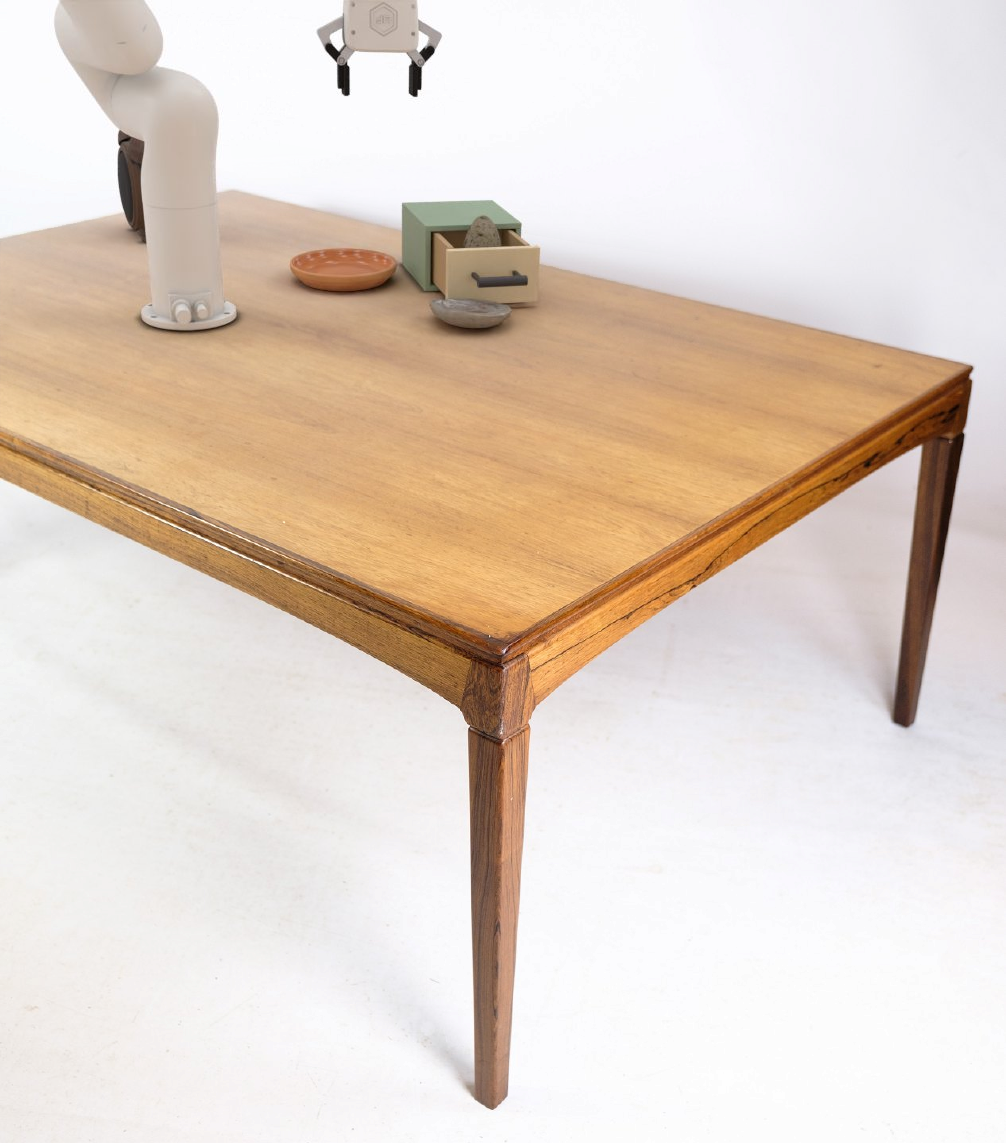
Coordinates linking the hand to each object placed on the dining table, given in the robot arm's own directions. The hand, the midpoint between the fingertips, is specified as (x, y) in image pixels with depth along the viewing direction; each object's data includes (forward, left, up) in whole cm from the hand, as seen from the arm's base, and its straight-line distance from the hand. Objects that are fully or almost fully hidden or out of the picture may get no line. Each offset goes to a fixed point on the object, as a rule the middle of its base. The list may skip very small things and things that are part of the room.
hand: (379, 95), depth 182 cm
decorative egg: (-10, -13, -25) cm, 30 cm away
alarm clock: (+34, +32, -27) cm, 54 cm away
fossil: (-22, -8, -27) cm, 36 cm away
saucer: (+2, +5, -27) cm, 28 cm away
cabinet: (+2, -13, -27) cm, 30 cm away
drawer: (-11, -13, -26) cm, 31 cm away
